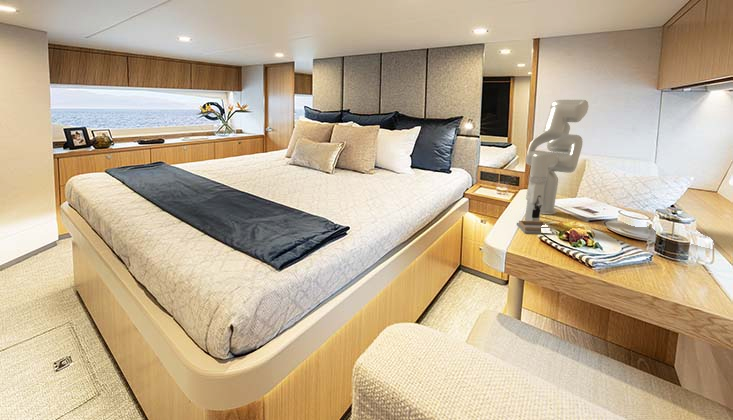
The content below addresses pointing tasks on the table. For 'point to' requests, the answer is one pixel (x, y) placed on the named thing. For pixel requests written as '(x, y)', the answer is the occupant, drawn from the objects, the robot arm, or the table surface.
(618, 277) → the table surface
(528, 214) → the skincare box
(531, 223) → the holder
